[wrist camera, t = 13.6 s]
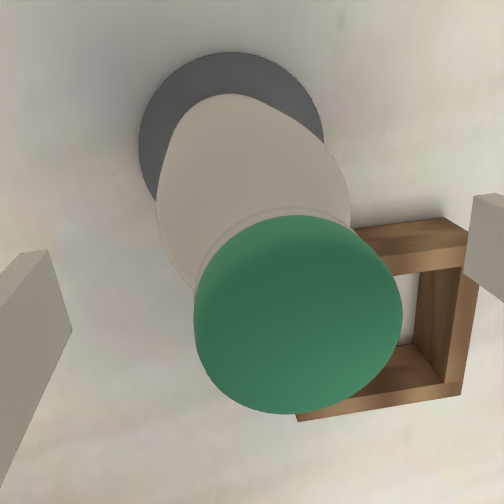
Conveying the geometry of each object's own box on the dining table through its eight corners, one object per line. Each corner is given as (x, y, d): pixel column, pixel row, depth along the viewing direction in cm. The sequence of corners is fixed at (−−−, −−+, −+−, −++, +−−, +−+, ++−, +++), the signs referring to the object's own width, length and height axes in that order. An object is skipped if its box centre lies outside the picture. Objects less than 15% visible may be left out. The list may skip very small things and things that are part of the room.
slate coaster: (157, 247, 29) (156, 250, 29) (121, 61, 24) (120, 61, 24) (322, 226, 30) (324, 229, 30) (320, 44, 25) (323, 44, 25)
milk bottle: (145, 165, 26) (35, 379, 8) (220, 63, 24) (296, 52, 6) (237, 234, 29) (310, 509, 11) (312, 147, 27) (547, 305, 9)
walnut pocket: (284, 377, 36) (297, 422, 31) (275, 238, 30) (290, 268, 26) (427, 354, 37) (460, 395, 32) (444, 217, 31) (486, 242, 27)
